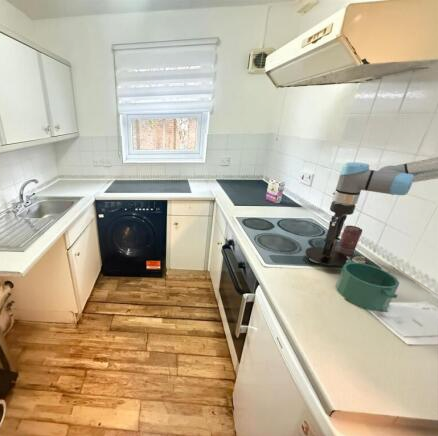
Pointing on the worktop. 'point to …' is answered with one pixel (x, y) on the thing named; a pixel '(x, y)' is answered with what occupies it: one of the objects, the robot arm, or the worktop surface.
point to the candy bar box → (275, 191)
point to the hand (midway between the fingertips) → (327, 253)
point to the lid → (333, 260)
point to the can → (349, 240)
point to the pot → (366, 285)
